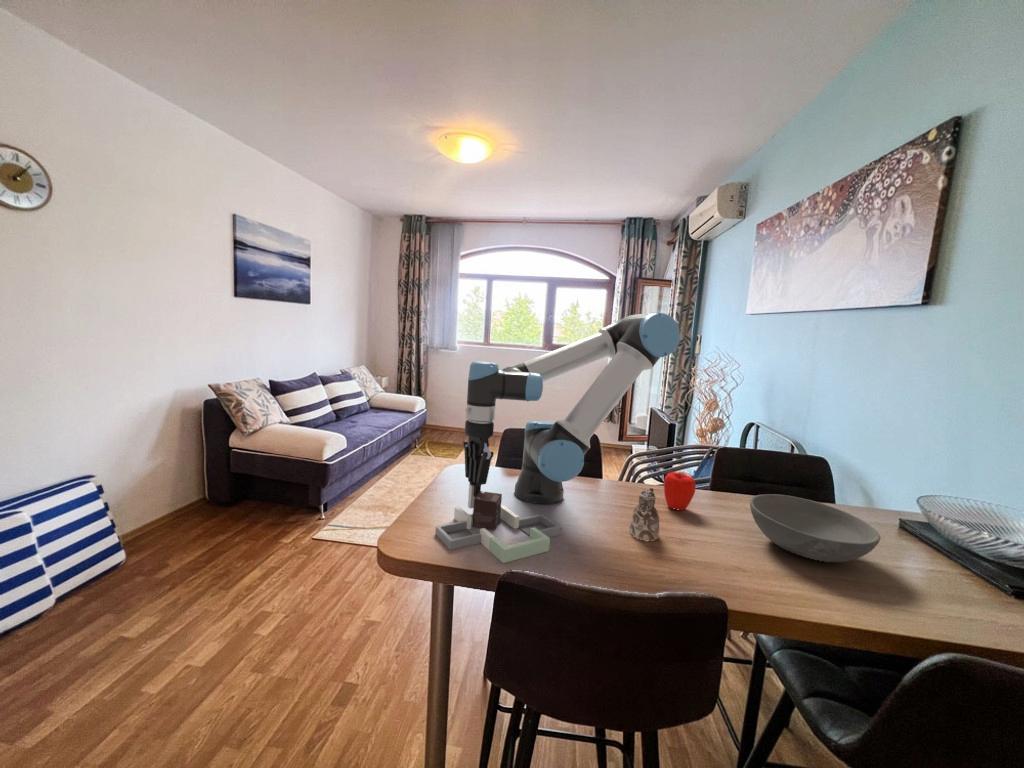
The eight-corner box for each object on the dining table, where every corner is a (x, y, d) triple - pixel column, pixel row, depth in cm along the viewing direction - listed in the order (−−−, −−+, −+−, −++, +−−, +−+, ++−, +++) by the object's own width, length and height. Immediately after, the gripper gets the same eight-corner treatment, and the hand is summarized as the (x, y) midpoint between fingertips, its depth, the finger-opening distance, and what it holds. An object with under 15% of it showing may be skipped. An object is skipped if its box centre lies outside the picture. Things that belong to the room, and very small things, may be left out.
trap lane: (518, 506, 119) (519, 496, 119) (574, 543, 100) (575, 531, 99) (425, 523, 104) (426, 512, 104) (470, 572, 84) (471, 558, 84)
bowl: (844, 541, 113) (850, 505, 112) (897, 594, 89) (905, 549, 87) (737, 520, 122) (741, 487, 121) (757, 564, 97) (763, 522, 96)
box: (494, 530, 103) (497, 502, 102) (471, 526, 104) (473, 498, 104) (500, 520, 109) (502, 493, 108) (478, 517, 110) (480, 490, 109)
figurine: (624, 533, 107) (629, 488, 106) (637, 526, 112) (642, 483, 111) (650, 544, 102) (656, 497, 101) (662, 536, 108) (668, 491, 106)
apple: (694, 507, 129) (698, 473, 128) (689, 516, 122) (694, 480, 121) (664, 500, 134) (668, 467, 133) (658, 508, 126) (662, 473, 125)
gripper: (456, 416, 113) (450, 499, 116) (478, 426, 102) (471, 518, 105) (480, 415, 117) (474, 496, 120) (504, 425, 106) (497, 514, 109)
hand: (473, 506), depth 112 cm, fingers closed
